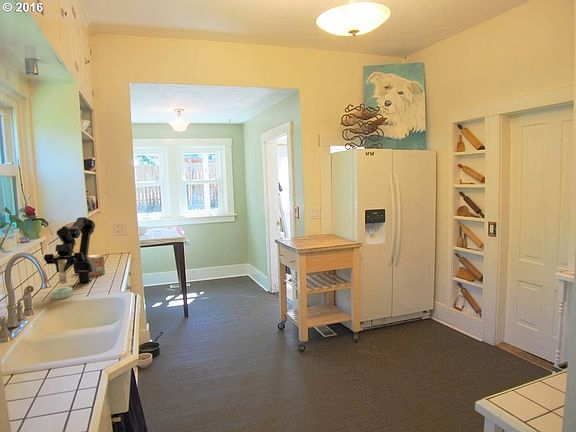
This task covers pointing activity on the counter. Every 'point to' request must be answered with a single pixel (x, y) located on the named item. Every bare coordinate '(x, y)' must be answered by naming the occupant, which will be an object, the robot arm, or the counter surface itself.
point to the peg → (62, 271)
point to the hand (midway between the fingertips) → (61, 271)
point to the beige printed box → (96, 264)
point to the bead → (62, 292)
